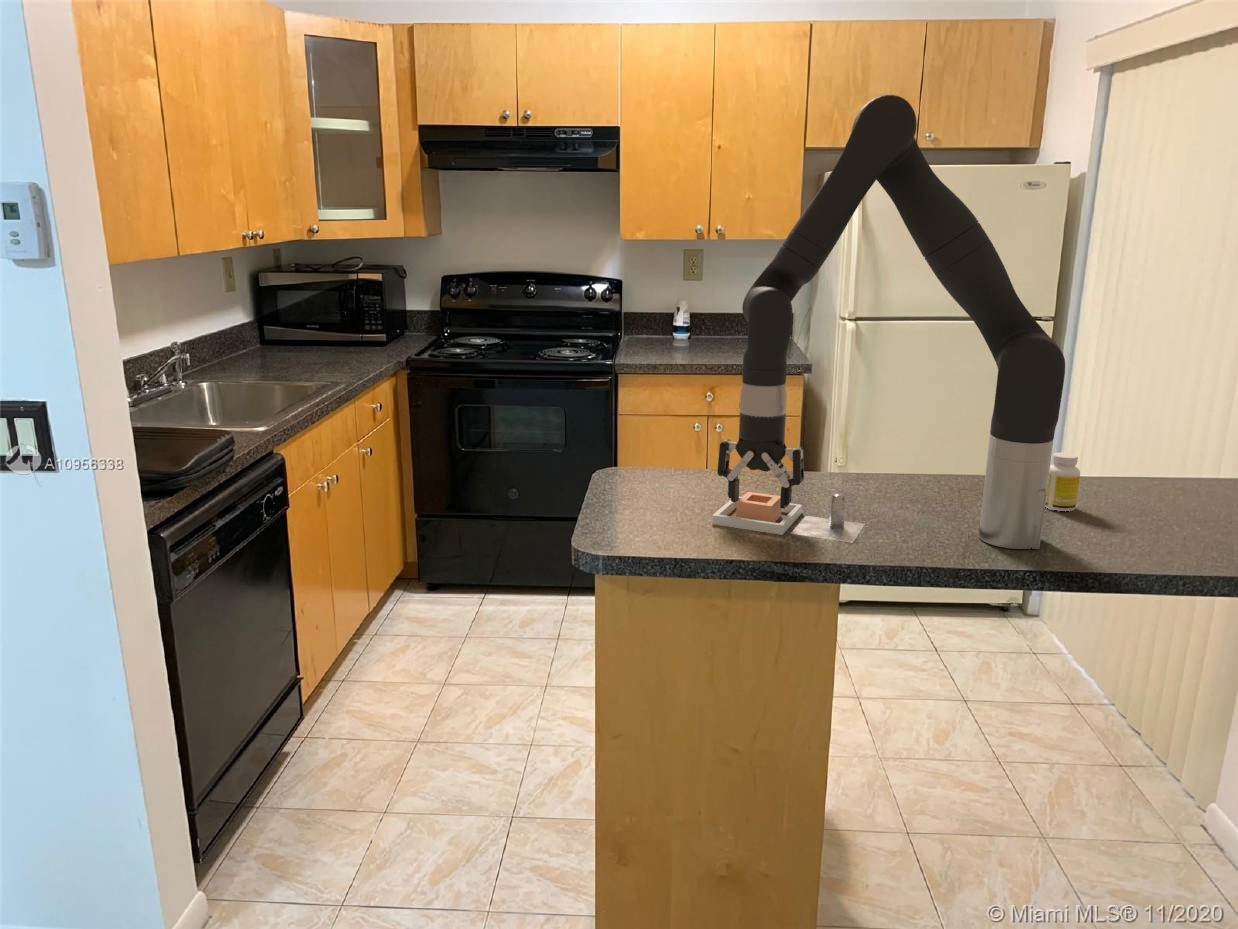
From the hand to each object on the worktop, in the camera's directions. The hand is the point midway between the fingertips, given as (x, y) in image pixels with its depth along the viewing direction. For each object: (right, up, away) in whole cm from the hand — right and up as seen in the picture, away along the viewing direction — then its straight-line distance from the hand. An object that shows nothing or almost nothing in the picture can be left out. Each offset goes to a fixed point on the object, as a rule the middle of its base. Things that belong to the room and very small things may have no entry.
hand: (759, 504), depth 155 cm
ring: (0, -3, +1) cm, 3 cm away
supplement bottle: (+55, -1, +10) cm, 56 cm away
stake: (+11, -5, -4) cm, 12 cm away
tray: (0, -3, +1) cm, 4 cm away
